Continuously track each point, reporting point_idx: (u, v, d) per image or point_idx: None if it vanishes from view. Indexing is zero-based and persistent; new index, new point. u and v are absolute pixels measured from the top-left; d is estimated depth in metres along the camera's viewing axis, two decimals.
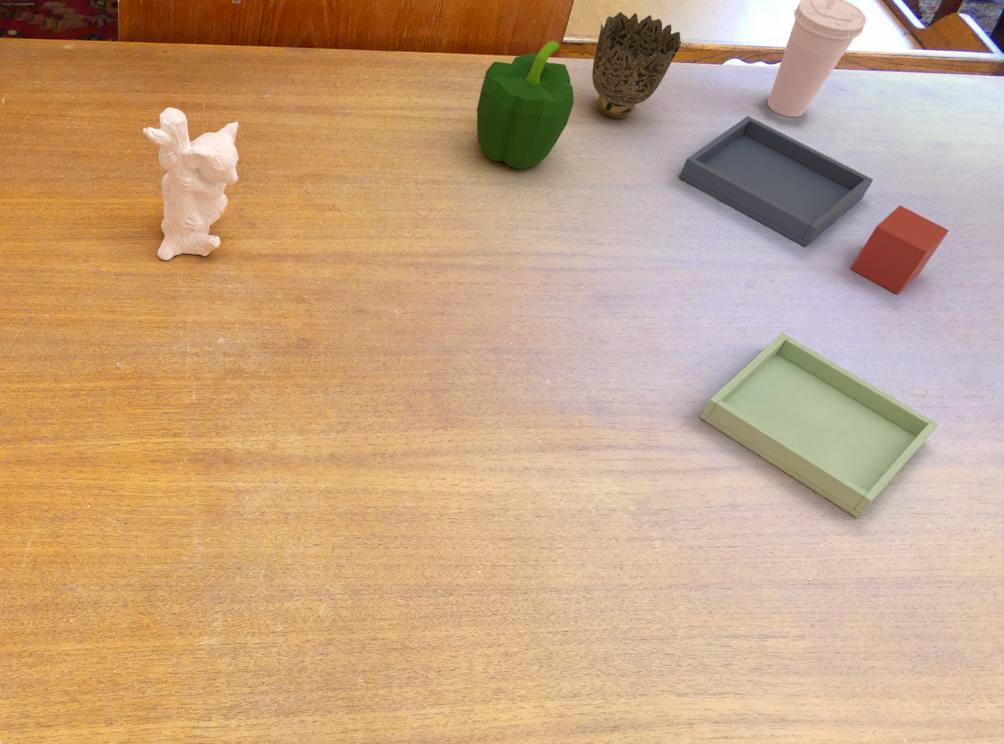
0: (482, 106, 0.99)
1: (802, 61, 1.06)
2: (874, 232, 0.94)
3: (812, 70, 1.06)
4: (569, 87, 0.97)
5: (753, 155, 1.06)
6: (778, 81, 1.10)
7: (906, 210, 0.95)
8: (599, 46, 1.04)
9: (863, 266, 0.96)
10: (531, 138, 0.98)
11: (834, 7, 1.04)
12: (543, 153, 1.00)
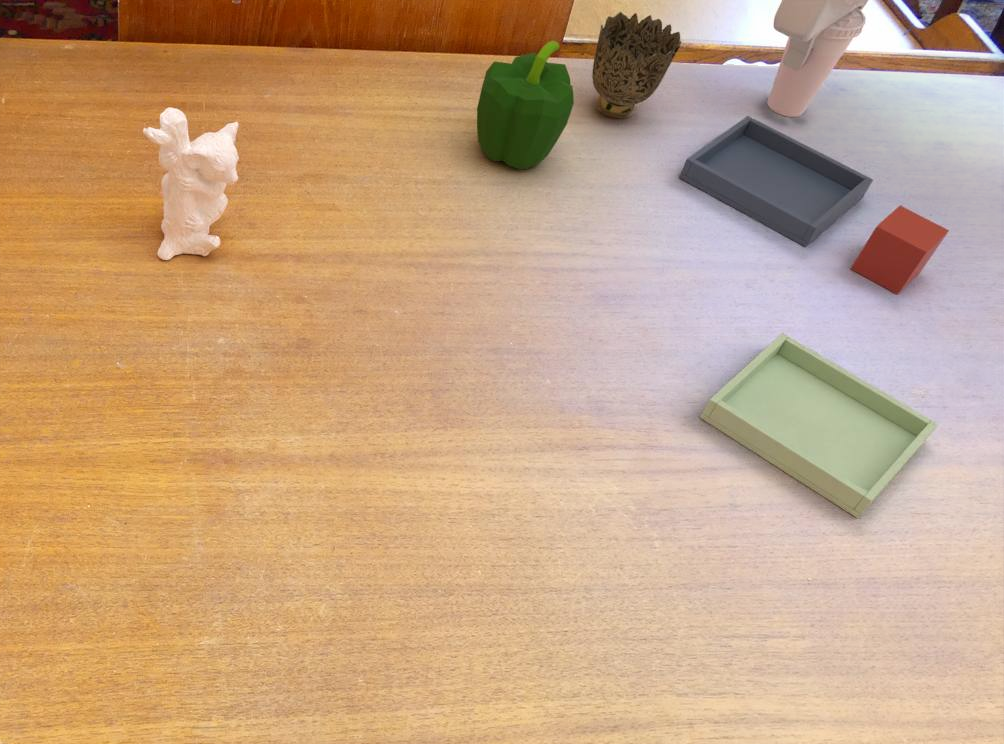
0: (482, 106, 0.99)
1: None
2: (874, 232, 0.94)
3: (812, 70, 1.06)
4: (569, 87, 0.97)
5: (753, 155, 1.06)
6: (777, 81, 1.10)
7: (906, 210, 0.95)
8: (599, 46, 1.04)
9: (863, 266, 0.96)
10: (531, 138, 0.98)
11: None
12: (543, 153, 1.00)
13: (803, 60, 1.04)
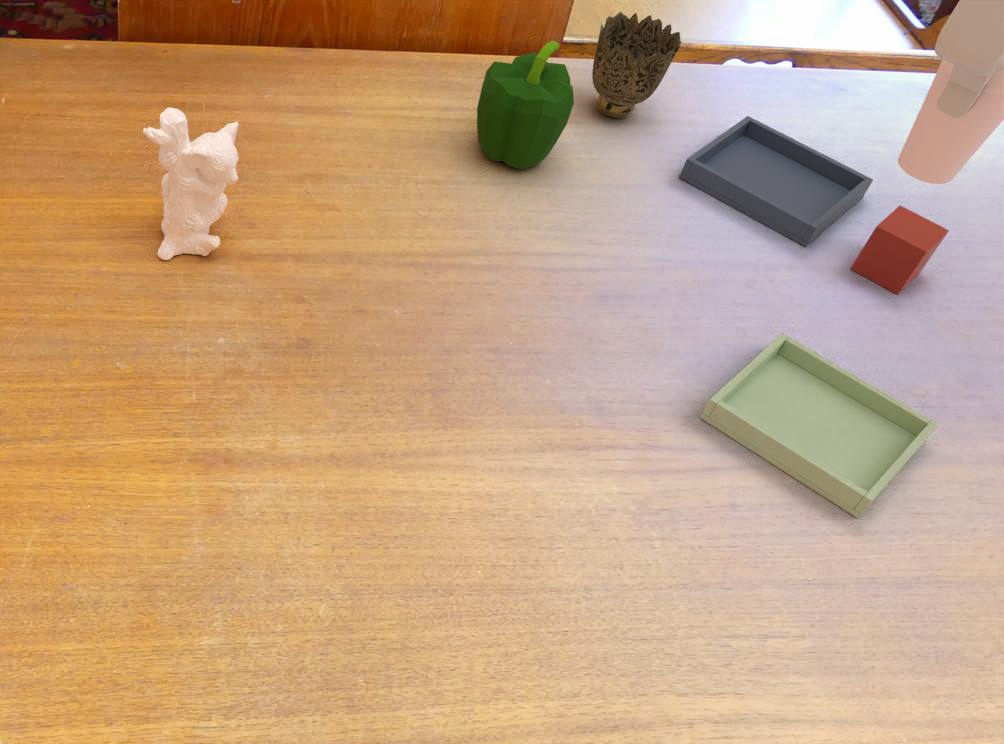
0: (482, 106, 0.99)
1: None
2: (874, 232, 0.94)
3: (977, 116, 0.69)
4: (569, 87, 0.97)
5: (753, 155, 1.06)
6: (919, 131, 0.72)
7: (906, 210, 0.95)
8: (599, 46, 1.04)
9: (863, 266, 0.96)
10: (531, 138, 0.98)
11: None
12: (543, 153, 1.00)
13: (971, 103, 0.67)
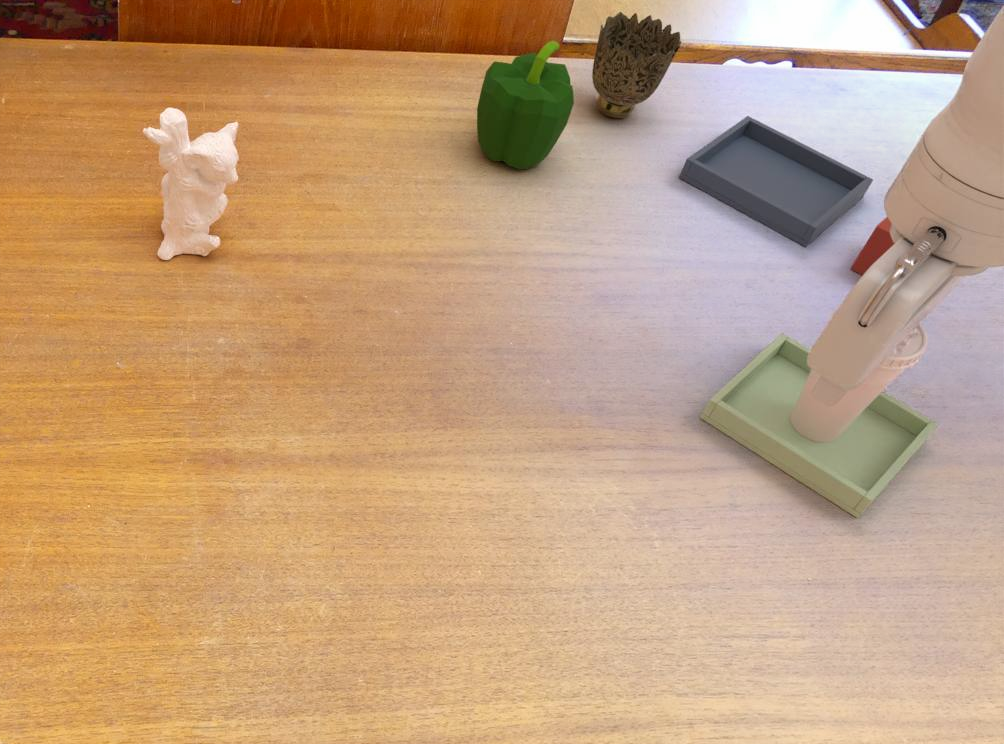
0: (482, 106, 0.99)
1: None
2: (874, 232, 0.94)
3: (852, 398, 0.79)
4: (569, 87, 0.97)
5: (753, 155, 1.06)
6: (805, 400, 0.82)
7: None
8: (599, 46, 1.04)
9: (863, 266, 0.96)
10: (531, 138, 0.98)
11: None
12: (543, 153, 1.00)
13: (840, 396, 0.76)
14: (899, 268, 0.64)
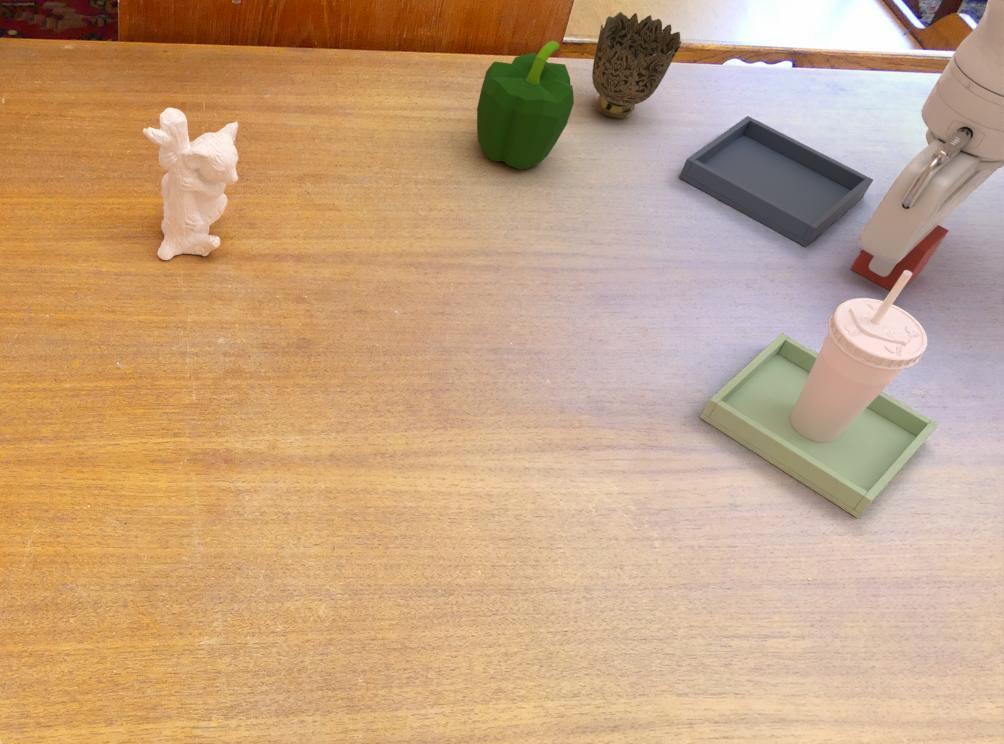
0: (482, 106, 0.99)
1: (839, 387, 0.78)
2: None
3: (852, 398, 0.79)
4: (569, 87, 0.97)
5: (753, 155, 1.06)
6: (805, 400, 0.82)
7: None
8: (599, 46, 1.04)
9: (863, 266, 0.96)
10: (531, 138, 0.98)
11: (883, 320, 0.77)
12: (543, 153, 1.00)
13: (892, 267, 0.93)
14: (936, 157, 0.81)
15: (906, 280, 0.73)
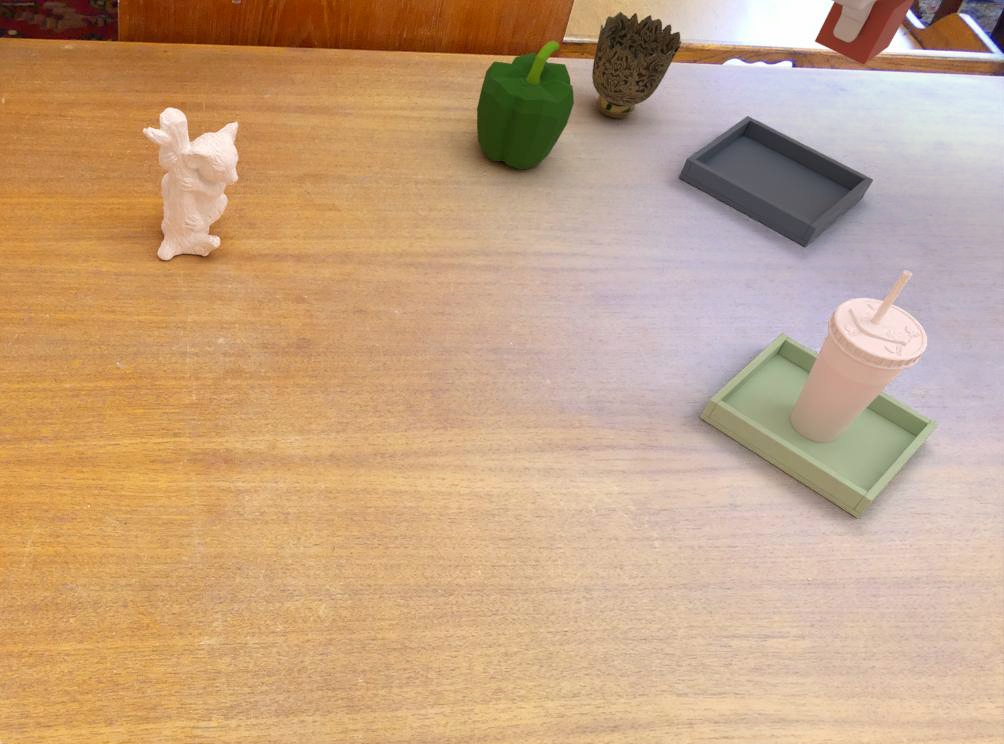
0: (482, 106, 0.99)
1: (839, 387, 0.78)
2: None
3: (852, 398, 0.79)
4: (569, 87, 0.97)
5: (753, 155, 1.06)
6: (805, 400, 0.82)
7: None
8: (599, 46, 1.04)
9: (828, 36, 0.90)
10: (531, 138, 0.98)
11: (883, 320, 0.77)
12: (543, 153, 1.00)
13: (858, 30, 0.87)
14: None
15: (906, 280, 0.73)
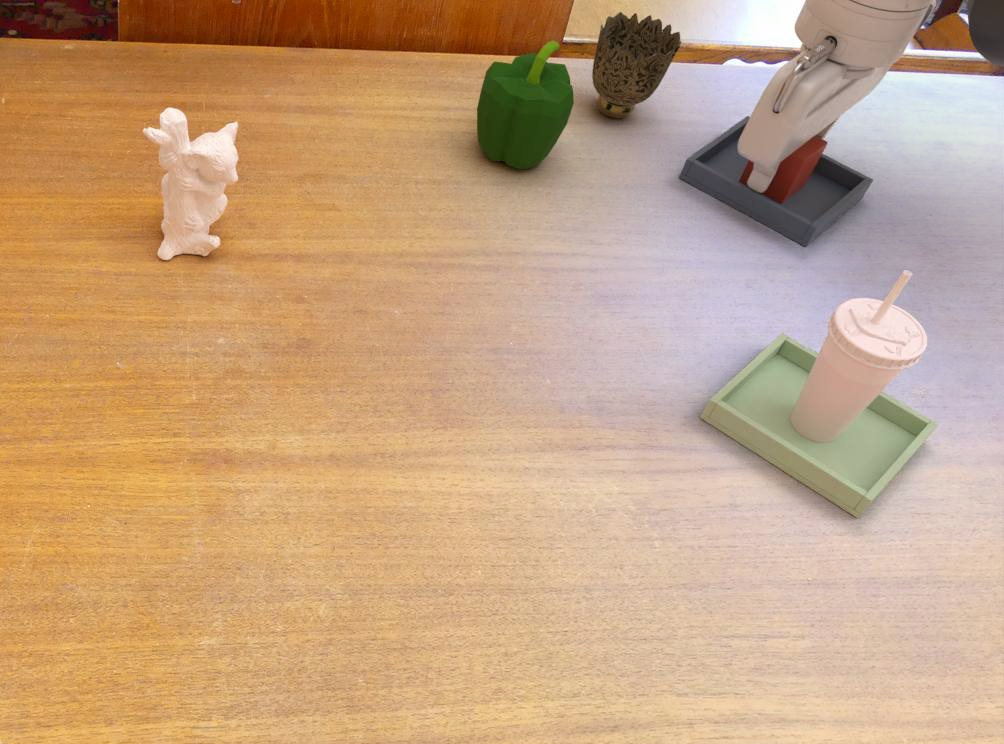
0: (482, 106, 0.99)
1: (839, 387, 0.78)
2: None
3: (852, 398, 0.79)
4: (569, 87, 0.97)
5: None
6: (805, 400, 0.82)
7: None
8: (599, 46, 1.04)
9: None
10: (531, 138, 0.98)
11: (883, 320, 0.77)
12: (543, 153, 1.00)
13: (768, 183, 0.98)
14: (800, 62, 0.87)
15: (906, 280, 0.73)
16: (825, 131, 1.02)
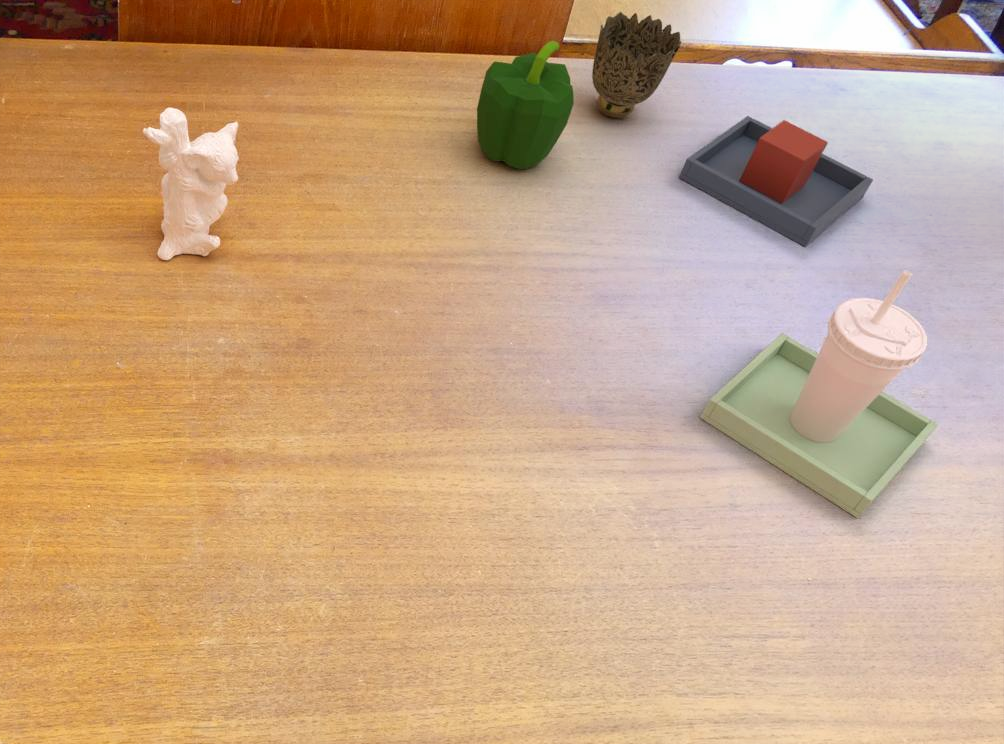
0: (482, 106, 0.99)
1: (839, 387, 0.78)
2: (758, 144, 1.00)
3: (852, 398, 0.79)
4: (569, 87, 0.97)
5: None
6: (805, 400, 0.82)
7: (789, 124, 1.01)
8: (599, 46, 1.04)
9: (750, 178, 1.02)
10: (531, 138, 0.98)
11: (883, 320, 0.77)
12: (543, 153, 1.00)
13: None
14: None
15: (906, 280, 0.73)
16: None
